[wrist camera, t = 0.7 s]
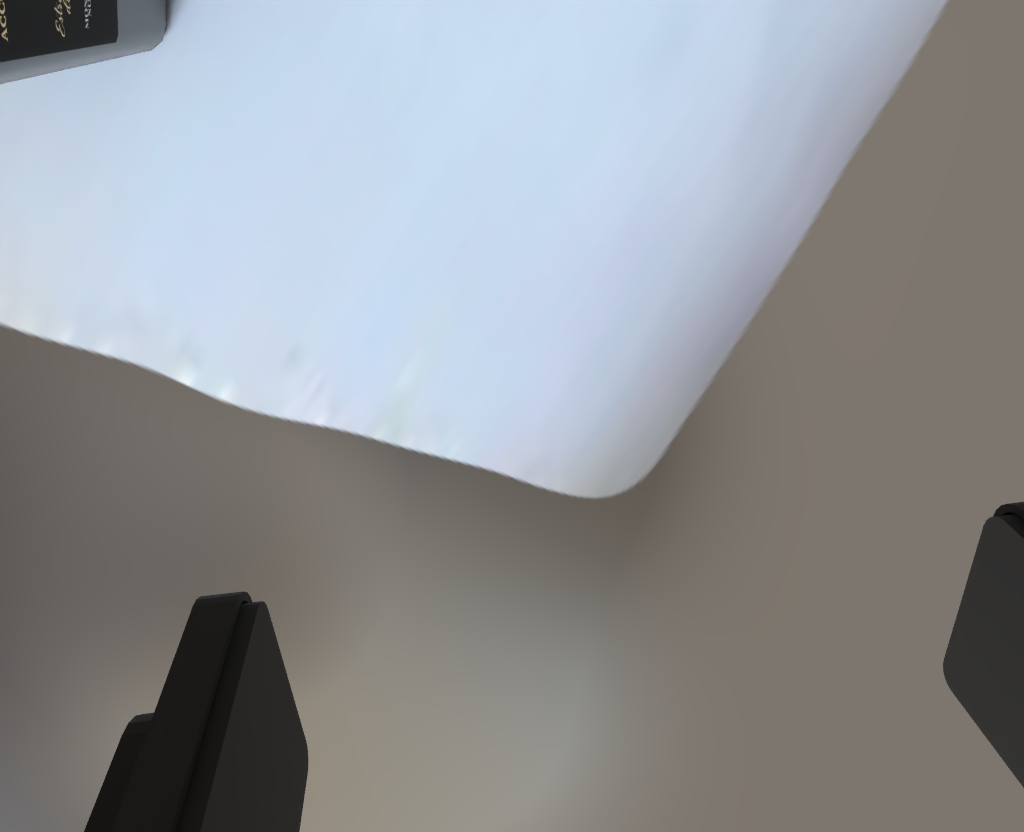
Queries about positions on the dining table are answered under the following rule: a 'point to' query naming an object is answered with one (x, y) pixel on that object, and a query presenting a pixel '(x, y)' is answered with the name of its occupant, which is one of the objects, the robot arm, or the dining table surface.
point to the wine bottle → (74, 33)
